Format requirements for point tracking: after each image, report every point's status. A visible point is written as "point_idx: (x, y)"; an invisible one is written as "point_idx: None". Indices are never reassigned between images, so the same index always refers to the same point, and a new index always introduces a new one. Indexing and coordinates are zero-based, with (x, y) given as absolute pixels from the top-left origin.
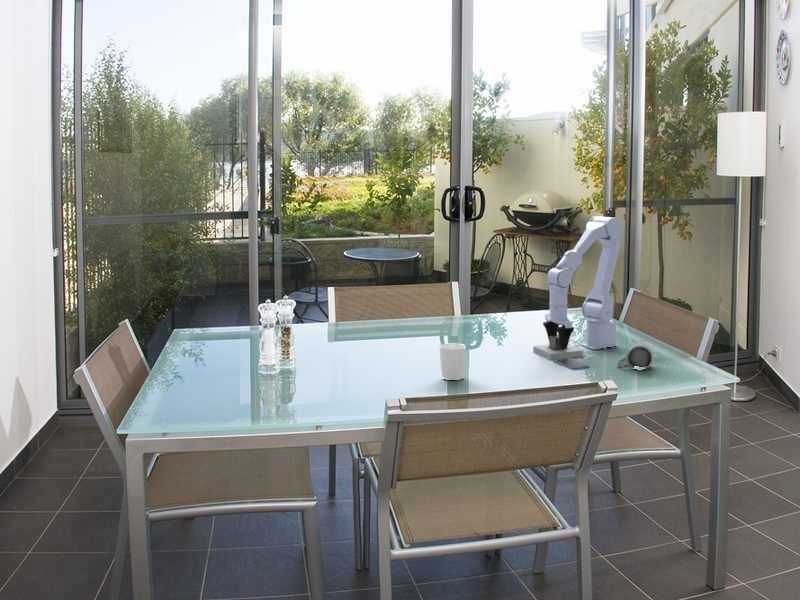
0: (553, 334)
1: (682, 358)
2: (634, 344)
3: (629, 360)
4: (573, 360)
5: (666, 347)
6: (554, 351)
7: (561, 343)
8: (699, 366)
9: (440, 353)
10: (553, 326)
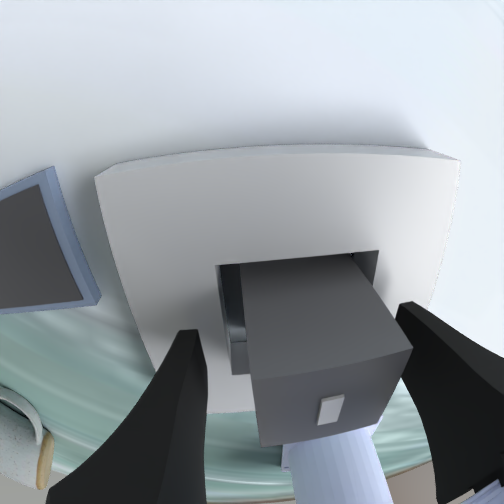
0: (429, 384)
1: None
2: (20, 477)
3: (6, 422)
4: (29, 297)
5: (232, 499)
6: (186, 253)
7: (162, 366)
8: (61, 470)
9: None
10: (463, 447)
